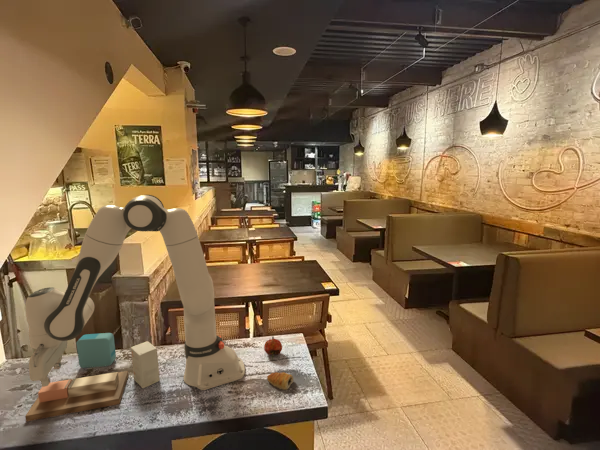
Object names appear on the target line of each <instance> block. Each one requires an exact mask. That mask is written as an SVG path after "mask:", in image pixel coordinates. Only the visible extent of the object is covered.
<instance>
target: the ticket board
mask: <svg viewBox="0 0 600 450" xmlns="http://www.w3.org/2000/svg"><path fill="white" fill-rule="evenodd" d="M128 378H129V370H126V371H115V372H107V373H102V374H96V375H90V376H84V377H79V378H73V379H72V381H71V383H70V385H69V387H68V395H69V396H68V398H63V399H57V400H52V401H46V402H40V403H39V397H37V398H36V400H35V401H34V403H33V404H32V405H31V407H30V408H29V410H28V411H27V412H26V414H25V416H24V417H25V422H31V421H37V420H42V419H47V418H54V417H59V416H63V415H68V414H69V415H70V414H73V413H79V412H85V411H90V410H95V409H100V408H105V407H111V406H117V405H120V404H121V401H122V397H123V394H124V391H125V389H126V385H127V381H128Z"/></svg>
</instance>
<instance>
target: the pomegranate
mask: <svg viewBox="0 0 600 450" xmlns="http://www.w3.org/2000/svg"><path fill="white" fill-rule="evenodd" d="M271 337H272V338H271V339H268V340H266V342H265V343H264V346H263V351H264V352H265V353H266V355H269V356H271V355H272V357H271V360H272V361H273V360H274V355H279V354H280V353H281V352H282V350H283V345H282V342H281V341H280V340H279V339H276V338H274V335H273V336H271Z"/></svg>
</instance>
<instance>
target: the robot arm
mask: <svg viewBox="0 0 600 450" xmlns="http://www.w3.org/2000/svg"><path fill="white" fill-rule="evenodd" d="M131 229H132V230H134V231H137V232H160V234H161V237H162V239H163V241H164V246H165V249H166V251H167V254H168V258H169V259H170V263H171V266H172V269H173V270H172V271H173V273H174V274H173V275H174V279H175V281H176V282H175V283H176V286H177V290H178V294H179V298H180V301H181V303H182V306H183V323H184V324H183V327H184V338H185V340H184V345H183V347H184V348H183V350H184V357H185V368H184V374H183V381H184V383H185V384H186V385H188V386H190V387H194V388H197V389H199V390H200V391H205V390H209V389H212V388H216V387H218V386H221V385H225V384H229V383H231V382H235V381H239V380H242V379H243V378H244V377H245V373H246V368H245V367H246V365H245V364H244V363H245V362H244V361H243V360H242V358H240V357H239V356H238V354H237V352H236V351H235V350H234V348H232V347H230V346H228V345H225V343H224V341H223V338H222V336H221V334H219V336H218V335H217V321H216V319H217V318H216V309H215V308H216V306H215V288H214V286H215V285H214V281H213V278H212V276H211V274H210V272H209V270H208V266H207V265H208V264H207V262H206V259H205V255H204V251H203V248H202V244H201V242H200V238H199V235H198V232H197V228H196V227H195V224H194V222H193V220H192V218H191V216H190V214H189V213H188V212H187V210H186V209H183V208H177V207H175V208H170V209H169V208H168V209H167V208H166V207H165V206H164V204H163V202H162V201H161V200H160V199H159V197H157V196H155V195H153V194H143V195H142V194H141V195H137V196H135V197H133V198H132V199H130V201H128V202H127V203H126V204H125V206H124V207H121V206H118V205H115V204H112V205H111V204H108V205H103V206H101V207H100V208H99V209H98V210H97V212H96V213H95V214H94V216H93V218H92V219H91V221H90V223H89V225H88V227H87V230H86V231H85V234H84V236H83V240H82V241H81V242H82V243H81V246H80V249H79V254H78V257H77V261H76V264H75V268H74V271H73V273H72V276H71V278H70V281H69V283H68V285H67V288H66V290H65V291H62V290H60V289H58V288H56V287H44V288H41V289H37V290H35V291H33V292H31V294H30V295H28V296H27V298H26V300H25V314H26V321H27V323H28V325H29V328H28V339H29V344H30V345H29V346H30V348H31V349H34V352H33V353H32V354H31V356H30V357H29V360H28V361H29V362H28V370H29V371H28V373H29V379H30V381H32V382H36V381H39V382H40V383H41V387H42V386H43V387H44V386H48V385H49V383H51V379H50V377H49V374H50V372H51V371H52V369H54V370H60V369H61V367H62V358H63V353H64V352H65V351H66V349H67V347H68V341H71V340H74V339H75V338H77V337H79V335H81V333H82V332H83V329H84V327H85V326H86V324H87V323H88V322H89V319H90V318H91V317H92V316H93V314H94V312H95V308H96V304H95V302H94V300H93V299H92V298H91V296H90V295H91V293H92V290H93V288H94V287H95V285H96V283H97V282H98V279H99V278H100V277H101V276H102V275H103V273H104V272H105V271H106V270H107V269H108V268H109V267H110V266H111V265H112V264H113V262H114V261H115V259H116V258H117V256H118V254H119V253H120V251H121V249H122V246H123V245H124V242H125V239H126V237H127V234H128V233H129V232H130V230H131Z"/></svg>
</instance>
